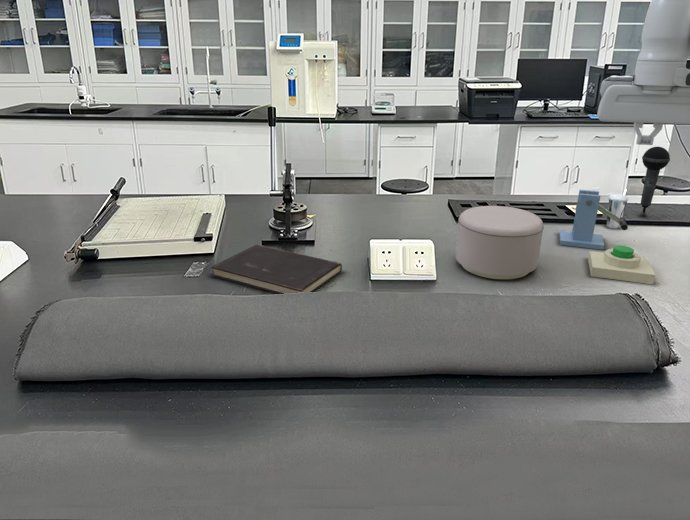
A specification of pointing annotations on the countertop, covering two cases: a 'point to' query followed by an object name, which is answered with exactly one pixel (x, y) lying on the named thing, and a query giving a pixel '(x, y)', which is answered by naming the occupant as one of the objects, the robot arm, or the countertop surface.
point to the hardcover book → (277, 270)
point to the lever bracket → (584, 223)
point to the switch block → (620, 267)
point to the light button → (623, 252)
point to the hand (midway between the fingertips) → (644, 144)
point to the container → (498, 241)
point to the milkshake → (616, 208)
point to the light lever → (613, 216)
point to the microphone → (652, 173)
